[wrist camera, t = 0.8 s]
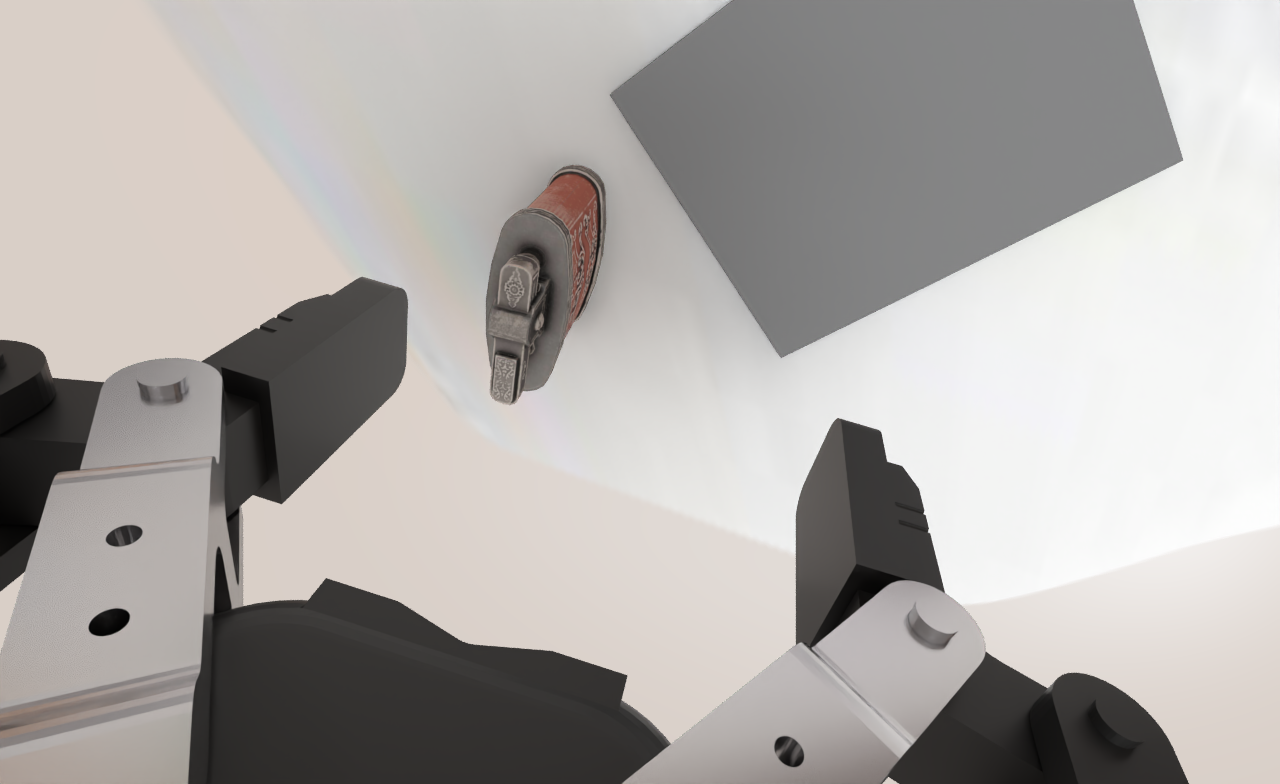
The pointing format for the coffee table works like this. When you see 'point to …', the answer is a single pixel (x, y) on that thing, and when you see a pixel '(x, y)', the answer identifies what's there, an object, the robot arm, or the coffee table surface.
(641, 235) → the coffee table surface
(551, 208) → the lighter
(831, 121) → the rubber mat
